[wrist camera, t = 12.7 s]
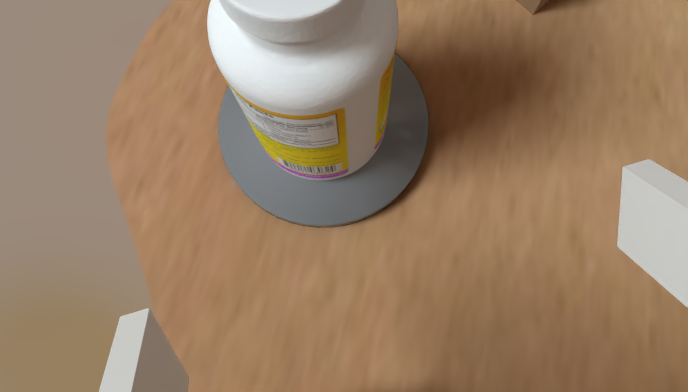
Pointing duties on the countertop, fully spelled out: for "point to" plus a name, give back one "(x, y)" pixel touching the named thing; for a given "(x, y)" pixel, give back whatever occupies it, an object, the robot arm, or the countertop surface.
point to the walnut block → (533, 4)
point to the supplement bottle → (309, 77)
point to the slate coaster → (338, 194)
